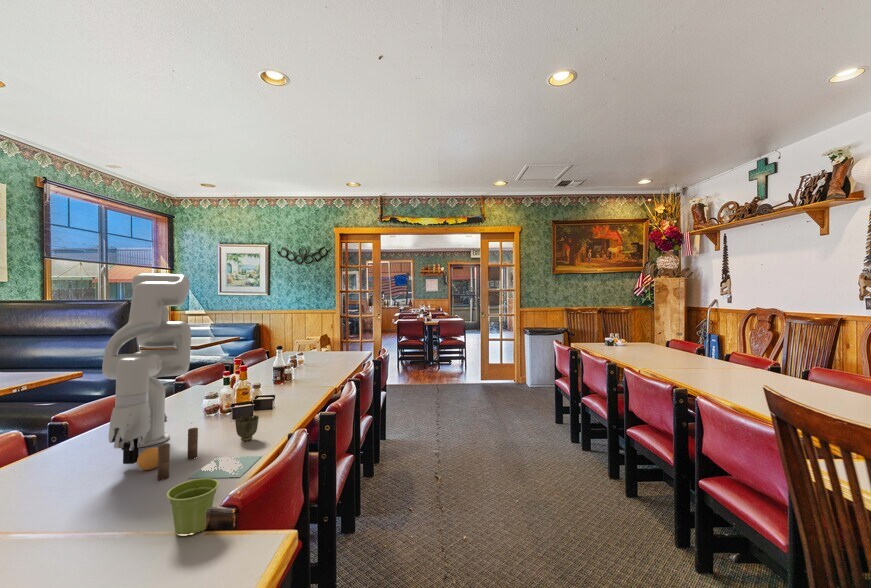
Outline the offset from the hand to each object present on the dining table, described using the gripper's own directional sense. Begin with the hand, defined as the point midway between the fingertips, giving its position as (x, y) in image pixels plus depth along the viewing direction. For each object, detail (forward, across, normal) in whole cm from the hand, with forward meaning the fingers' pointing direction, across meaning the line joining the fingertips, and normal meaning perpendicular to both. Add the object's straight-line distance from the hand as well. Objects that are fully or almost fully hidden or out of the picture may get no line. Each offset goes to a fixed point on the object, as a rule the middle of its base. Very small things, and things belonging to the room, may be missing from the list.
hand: (130, 462), depth 109 cm
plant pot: (+2, +29, +36) cm, 46 cm away
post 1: (+2, +6, +14) cm, 15 cm away
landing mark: (+2, -1, +28) cm, 28 cm away
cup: (+2, -22, +23) cm, 32 cm away
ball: (-1, 0, +6) cm, 6 cm away
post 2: (+2, -7, +13) cm, 15 cm away
